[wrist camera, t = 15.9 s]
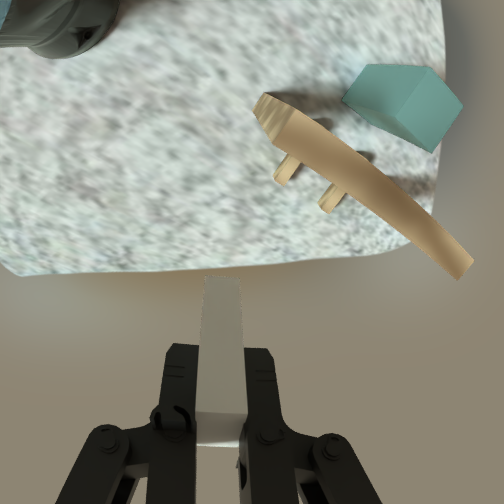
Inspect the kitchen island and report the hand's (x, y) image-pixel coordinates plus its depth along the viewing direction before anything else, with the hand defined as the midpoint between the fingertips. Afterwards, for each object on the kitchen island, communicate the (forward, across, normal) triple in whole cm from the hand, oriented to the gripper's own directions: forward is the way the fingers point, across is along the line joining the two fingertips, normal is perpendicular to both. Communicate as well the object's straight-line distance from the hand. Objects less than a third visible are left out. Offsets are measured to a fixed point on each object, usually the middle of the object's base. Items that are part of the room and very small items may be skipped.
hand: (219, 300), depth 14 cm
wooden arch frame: (+32, +14, -1) cm, 35 cm away
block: (+32, +19, +11) cm, 39 cm away
